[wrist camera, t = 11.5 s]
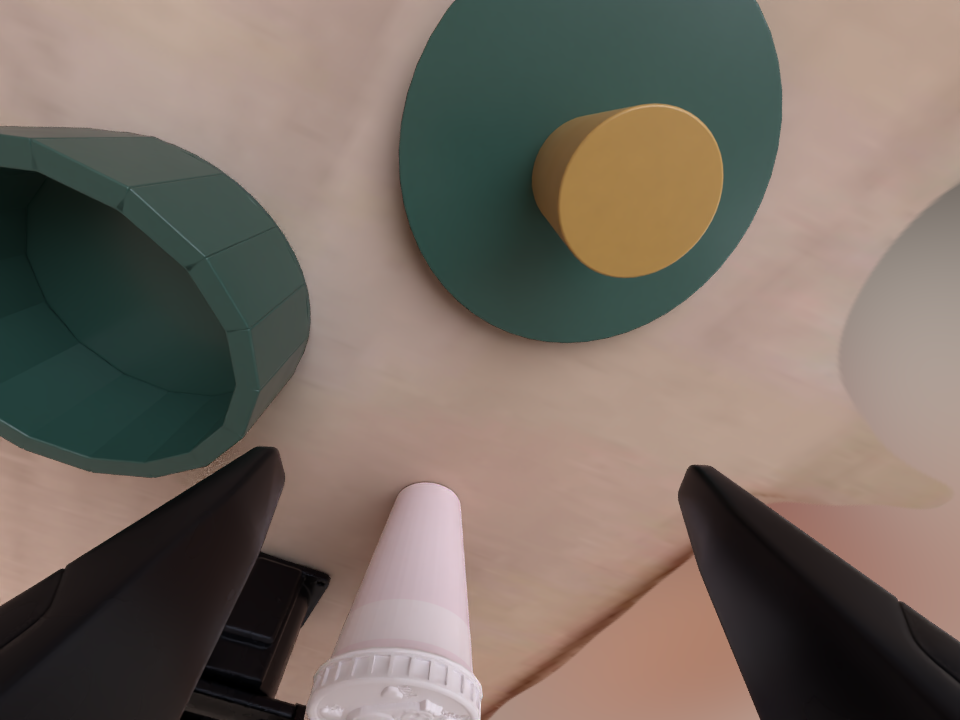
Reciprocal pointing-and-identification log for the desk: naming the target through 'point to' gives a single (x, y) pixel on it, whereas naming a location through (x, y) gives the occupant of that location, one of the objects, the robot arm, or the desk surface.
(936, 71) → the desk surface
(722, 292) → the desk surface
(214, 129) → the desk surface
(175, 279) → the tin
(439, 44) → the lid
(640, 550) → the desk surface
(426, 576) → the smoothie
